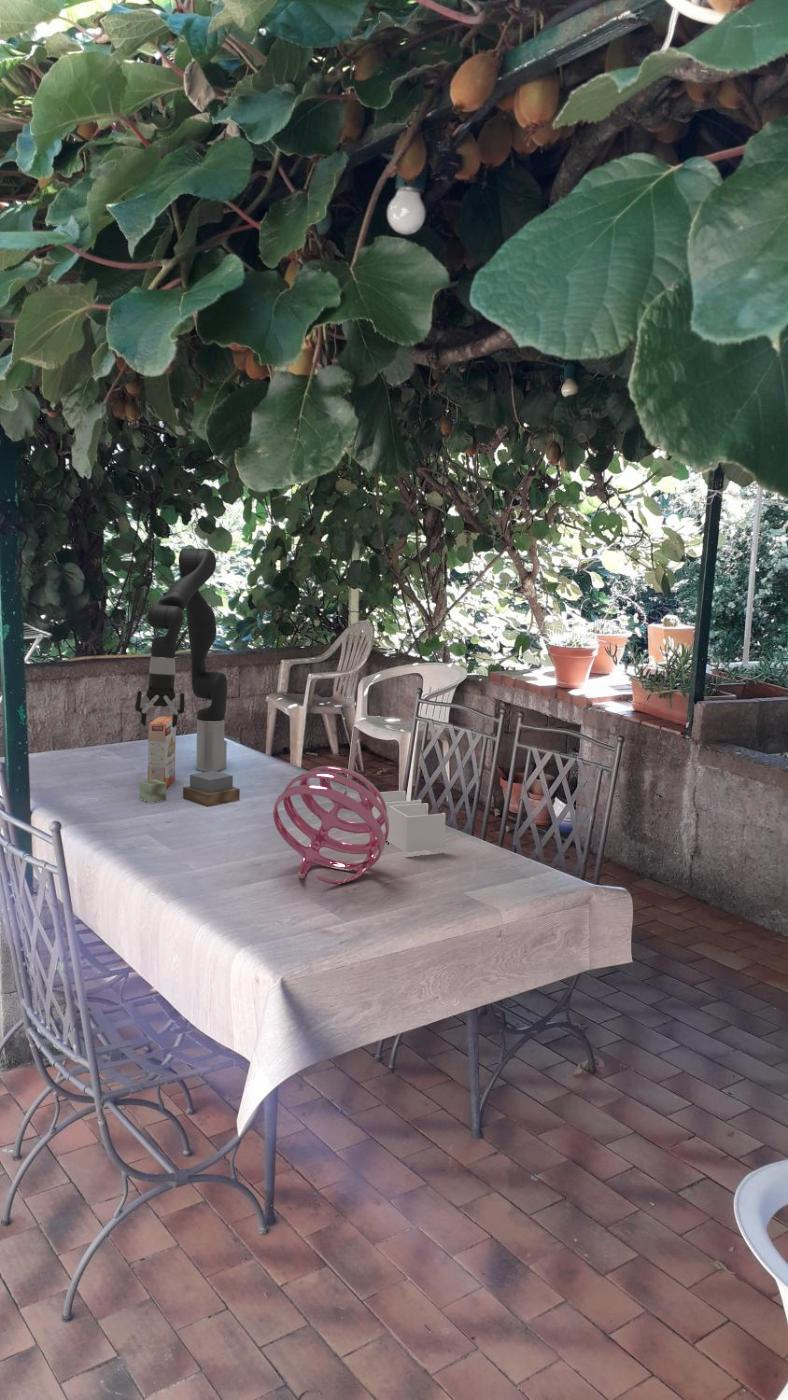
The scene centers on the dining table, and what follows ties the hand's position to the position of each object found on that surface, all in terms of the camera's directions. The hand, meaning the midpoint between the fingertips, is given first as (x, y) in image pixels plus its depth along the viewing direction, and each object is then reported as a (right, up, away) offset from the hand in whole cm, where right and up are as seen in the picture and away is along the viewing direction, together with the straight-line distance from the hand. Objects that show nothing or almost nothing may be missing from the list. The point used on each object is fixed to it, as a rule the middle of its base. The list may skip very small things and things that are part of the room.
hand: (158, 726), depth 311 cm
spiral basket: (+56, -34, -60) cm, 89 cm away
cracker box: (-3, -19, +19) cm, 27 cm away
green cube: (-2, -22, 0) cm, 22 cm away
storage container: (+73, -31, -31) cm, 85 cm away
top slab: (+15, -19, +3) cm, 24 cm away
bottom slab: (+15, -23, +4) cm, 27 cm away
